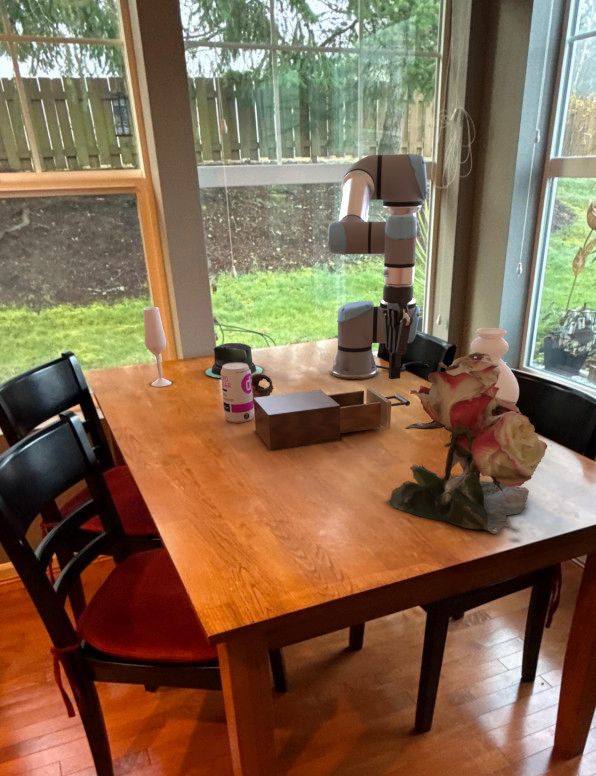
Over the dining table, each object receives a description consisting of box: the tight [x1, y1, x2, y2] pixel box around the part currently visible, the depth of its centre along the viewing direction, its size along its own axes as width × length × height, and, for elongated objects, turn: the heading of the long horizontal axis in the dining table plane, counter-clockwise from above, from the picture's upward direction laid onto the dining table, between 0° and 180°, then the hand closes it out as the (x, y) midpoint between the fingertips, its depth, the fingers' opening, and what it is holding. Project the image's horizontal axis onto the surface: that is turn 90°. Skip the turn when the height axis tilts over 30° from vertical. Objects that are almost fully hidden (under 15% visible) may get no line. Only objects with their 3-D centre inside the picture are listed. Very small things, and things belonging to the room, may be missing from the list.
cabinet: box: [253, 389, 341, 451], centre depth 164 cm, size 19×15×9 cm
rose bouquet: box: [388, 352, 548, 535], centre depth 125 cm, size 26×29×30 cm
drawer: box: [327, 387, 411, 434], centre depth 169 cm, size 25×13×7 cm, turn 110°
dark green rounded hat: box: [205, 342, 263, 379], centre depth 220 cm, size 15×19×20 cm
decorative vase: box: [470, 327, 520, 405], centre depth 165 cm, size 18×18×25 cm
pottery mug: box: [251, 373, 275, 402], centre depth 193 cm, size 12×10×8 cm
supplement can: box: [220, 363, 255, 424], centre depth 174 cm, size 8×8×15 cm
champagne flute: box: [142, 306, 172, 387], centre depth 204 cm, size 7×7×24 cm
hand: (394, 378), depth 168 cm, fingers closed
